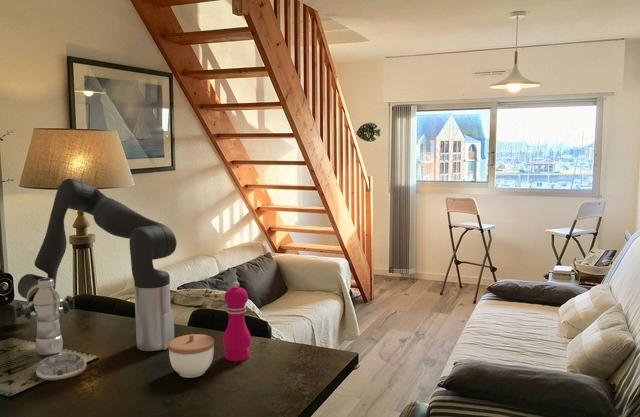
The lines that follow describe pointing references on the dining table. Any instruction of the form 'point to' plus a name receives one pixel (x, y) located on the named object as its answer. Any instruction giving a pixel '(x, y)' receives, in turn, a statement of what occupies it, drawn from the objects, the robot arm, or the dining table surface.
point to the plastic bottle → (47, 318)
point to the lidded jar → (191, 354)
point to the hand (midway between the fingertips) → (47, 312)
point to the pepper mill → (236, 325)
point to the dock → (61, 366)
